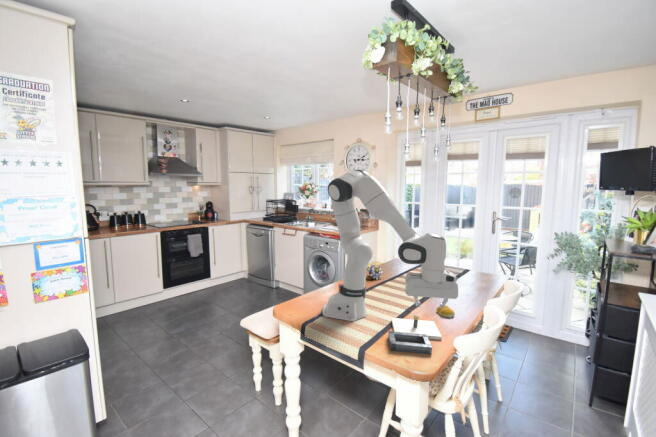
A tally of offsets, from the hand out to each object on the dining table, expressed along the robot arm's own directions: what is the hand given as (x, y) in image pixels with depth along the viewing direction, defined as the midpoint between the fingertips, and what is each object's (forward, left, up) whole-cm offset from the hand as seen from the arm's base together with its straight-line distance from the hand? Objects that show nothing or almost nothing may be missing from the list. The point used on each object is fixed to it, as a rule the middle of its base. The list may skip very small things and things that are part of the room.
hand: (429, 306), depth 122 cm
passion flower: (-18, +83, -18) cm, 87 cm away
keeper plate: (-2, +14, -18) cm, 23 cm away
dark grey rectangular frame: (-7, 0, -18) cm, 19 cm away
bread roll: (+17, +34, -18) cm, 42 cm away
